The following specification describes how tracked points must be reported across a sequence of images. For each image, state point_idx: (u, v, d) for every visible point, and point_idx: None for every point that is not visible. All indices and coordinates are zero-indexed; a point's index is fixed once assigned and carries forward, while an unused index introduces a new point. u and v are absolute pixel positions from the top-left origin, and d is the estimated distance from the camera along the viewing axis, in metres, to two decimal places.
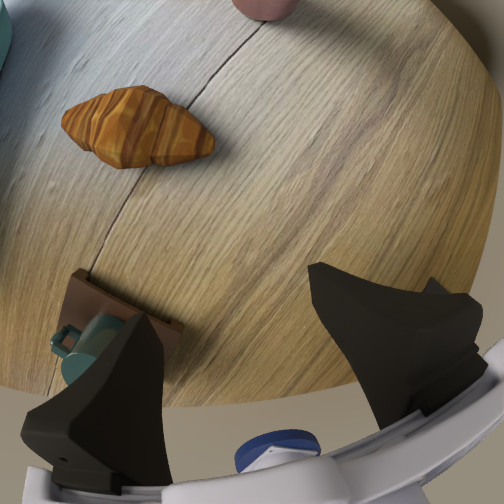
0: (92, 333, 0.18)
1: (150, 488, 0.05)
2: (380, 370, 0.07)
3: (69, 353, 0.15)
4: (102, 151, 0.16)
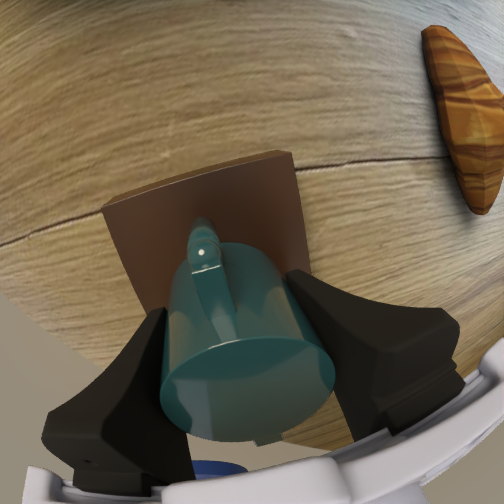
0: (291, 295, 0.09)
1: (150, 488, 0.05)
2: (350, 383, 0.07)
3: (287, 333, 0.06)
4: (474, 118, 0.10)
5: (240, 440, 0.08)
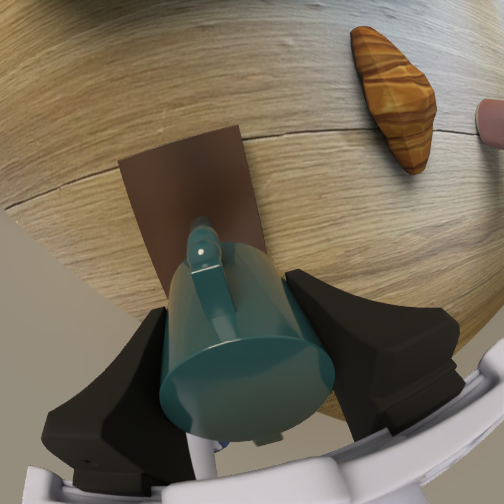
0: (291, 295, 0.09)
1: (150, 488, 0.05)
2: (350, 383, 0.07)
3: (287, 333, 0.06)
4: (386, 92, 0.15)
5: (240, 440, 0.08)
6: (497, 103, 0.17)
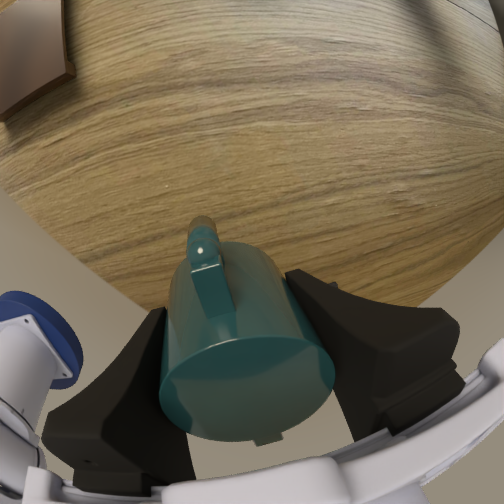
0: (291, 294, 0.09)
1: (150, 488, 0.05)
2: (350, 383, 0.07)
3: (287, 332, 0.06)
4: None
5: (240, 439, 0.08)
6: None
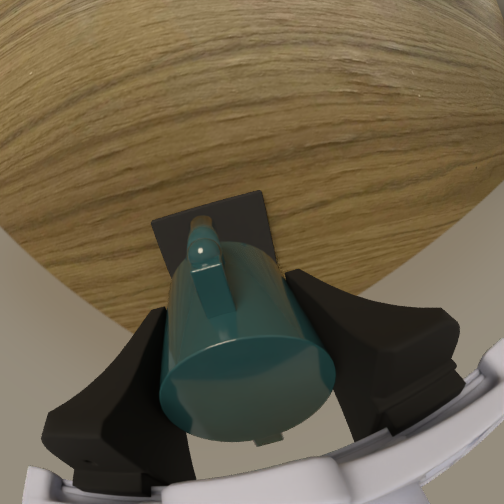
0: (291, 295, 0.09)
1: (150, 488, 0.05)
2: (350, 383, 0.07)
3: (287, 332, 0.06)
4: None
5: (240, 440, 0.08)
6: None
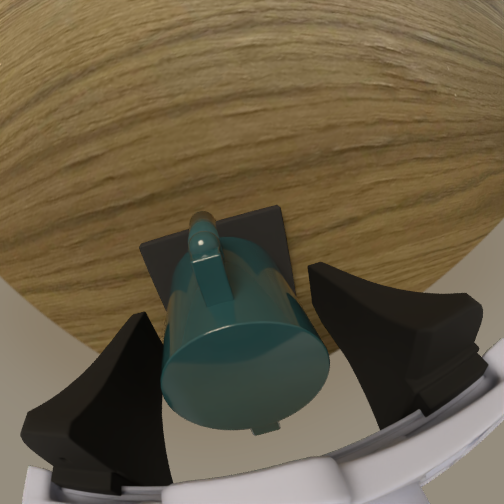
0: (287, 286, 0.10)
1: (150, 488, 0.05)
2: (380, 370, 0.07)
3: (282, 319, 0.07)
4: None
5: (238, 428, 0.08)
6: None
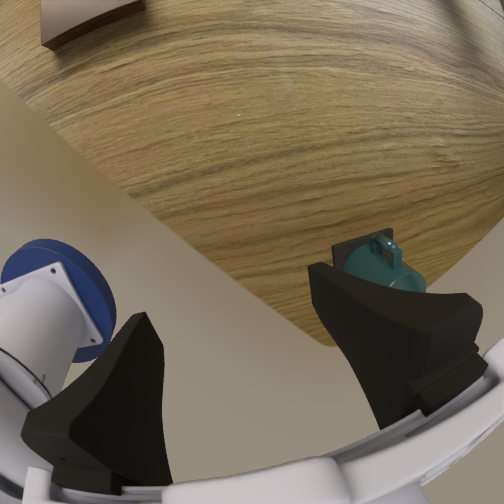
0: None
1: (150, 488, 0.05)
2: (381, 370, 0.07)
3: (417, 272, 0.18)
4: None
5: None
6: None
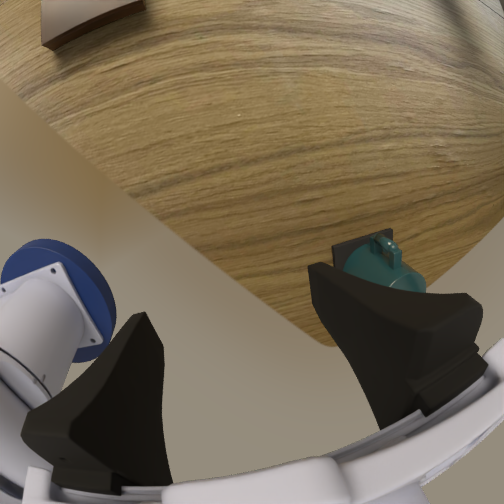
0: None
1: (150, 488, 0.05)
2: (380, 369, 0.07)
3: (417, 272, 0.18)
4: None
5: None
6: None
